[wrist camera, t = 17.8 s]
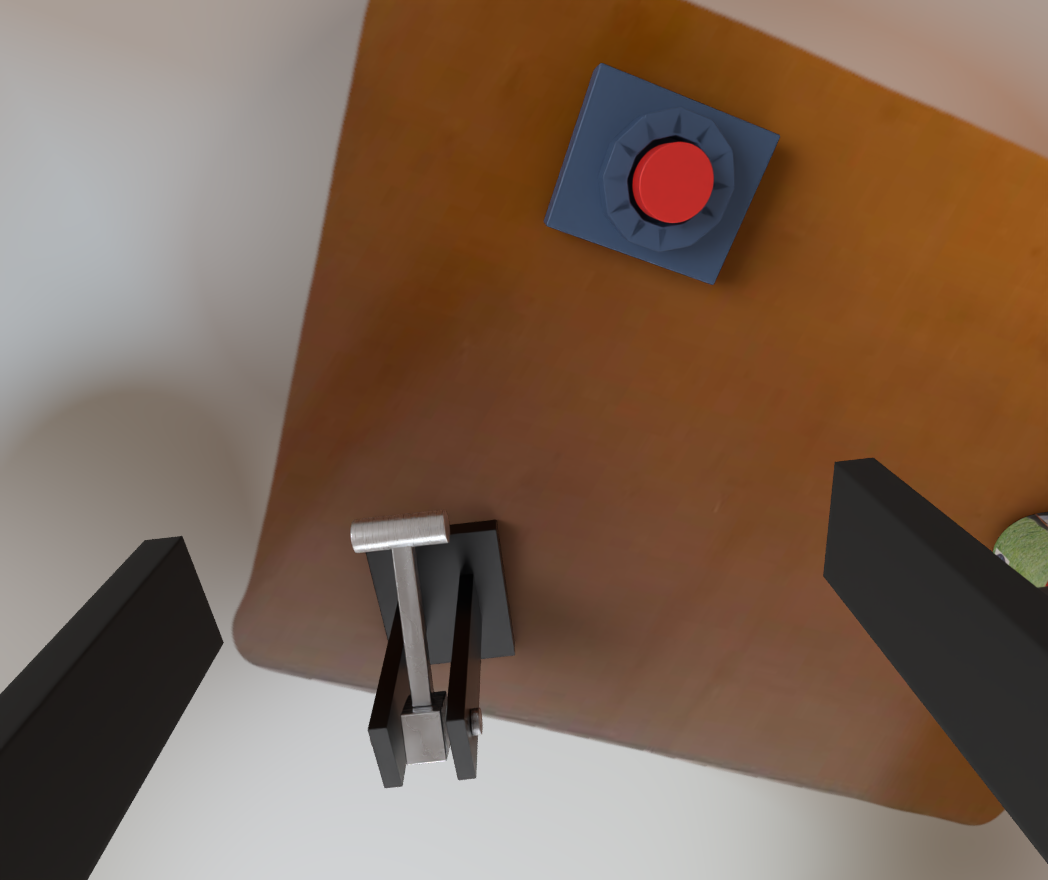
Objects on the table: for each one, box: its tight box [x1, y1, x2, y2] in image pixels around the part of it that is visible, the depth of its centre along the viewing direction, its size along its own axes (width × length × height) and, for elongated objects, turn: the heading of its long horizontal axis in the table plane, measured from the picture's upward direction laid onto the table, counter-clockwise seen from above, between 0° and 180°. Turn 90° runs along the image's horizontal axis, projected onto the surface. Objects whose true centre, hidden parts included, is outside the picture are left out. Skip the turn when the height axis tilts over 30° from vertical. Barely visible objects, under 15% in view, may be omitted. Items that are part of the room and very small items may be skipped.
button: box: [632, 142, 714, 223], centre depth 31 cm, size 4×4×2 cm
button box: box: [544, 63, 780, 285], centre depth 33 cm, size 10×8×4 cm
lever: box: [351, 510, 450, 765], centre depth 34 cm, size 13×5×2 cm, turn 6°
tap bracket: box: [366, 520, 515, 788], centre depth 39 cm, size 11×9×14 cm
